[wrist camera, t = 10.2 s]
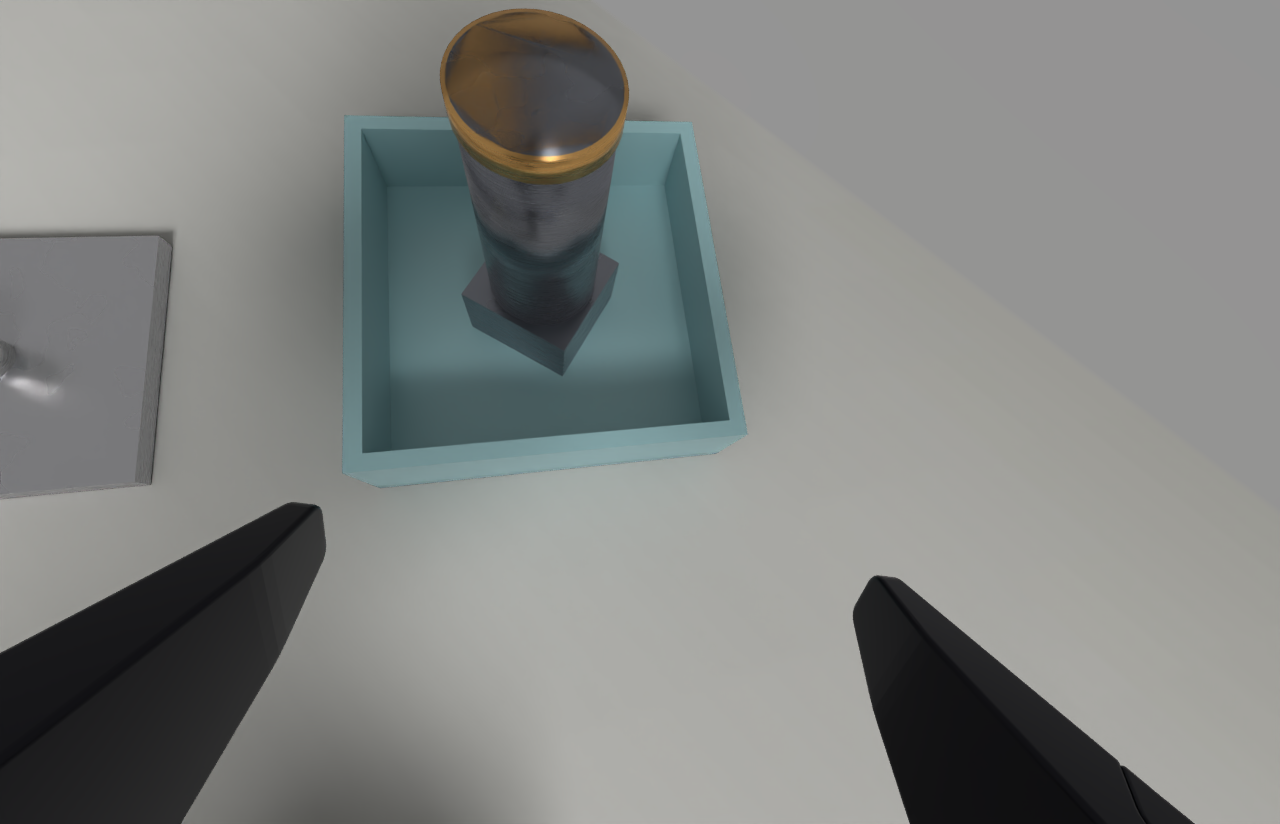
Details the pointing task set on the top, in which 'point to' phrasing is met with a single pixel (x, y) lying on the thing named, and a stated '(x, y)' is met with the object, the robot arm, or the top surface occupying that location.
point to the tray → (498, 375)
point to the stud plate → (80, 361)
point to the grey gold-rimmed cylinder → (537, 174)
